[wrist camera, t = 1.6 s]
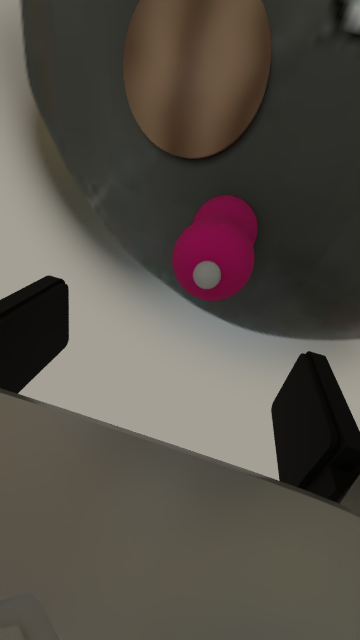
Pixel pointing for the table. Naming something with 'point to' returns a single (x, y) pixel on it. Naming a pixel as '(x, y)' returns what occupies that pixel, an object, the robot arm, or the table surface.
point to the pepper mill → (217, 249)
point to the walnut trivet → (196, 72)
